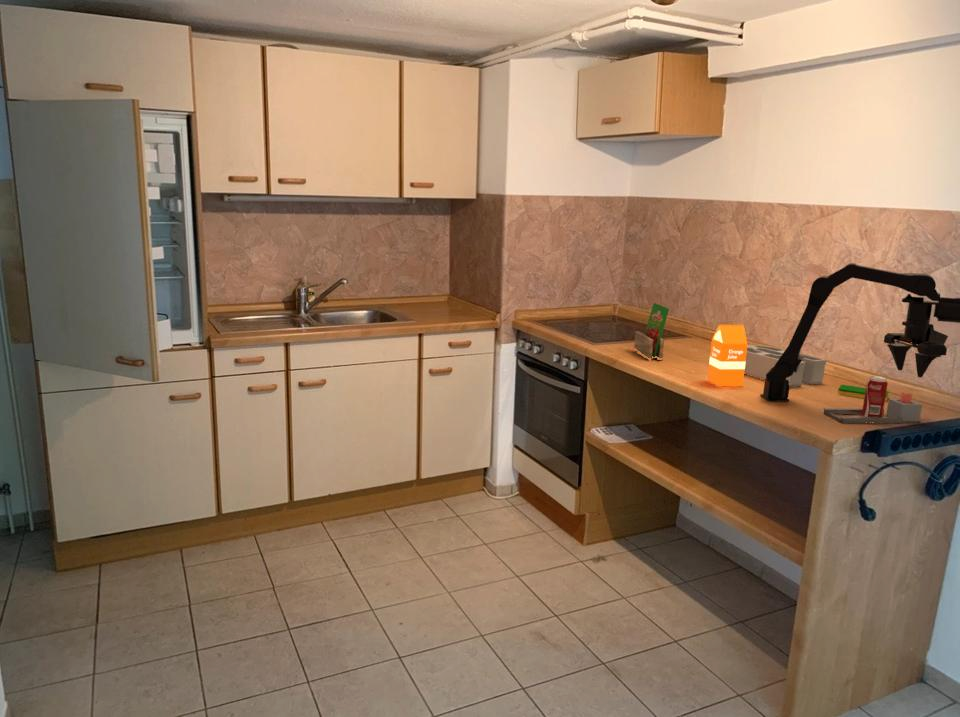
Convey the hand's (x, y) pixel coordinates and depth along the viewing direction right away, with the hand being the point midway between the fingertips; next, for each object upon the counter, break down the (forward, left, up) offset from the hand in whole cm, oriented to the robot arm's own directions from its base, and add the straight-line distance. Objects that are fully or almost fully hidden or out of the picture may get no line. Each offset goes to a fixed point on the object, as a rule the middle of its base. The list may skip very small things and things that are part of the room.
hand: (909, 373), depth 210 cm
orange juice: (-36, +38, -14) cm, 54 cm away
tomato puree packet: (-49, +80, -14) cm, 95 cm away
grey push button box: (0, 0, -13) cm, 13 cm away
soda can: (-9, 0, -14) cm, 16 cm away
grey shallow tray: (-12, 0, -13) cm, 18 cm away
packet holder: (-48, +80, -13) cm, 95 cm away
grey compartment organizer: (-14, +49, -14) cm, 53 cm away
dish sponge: (+4, +24, -14) cm, 28 cm away
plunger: (0, 0, -11) cm, 11 cm away
